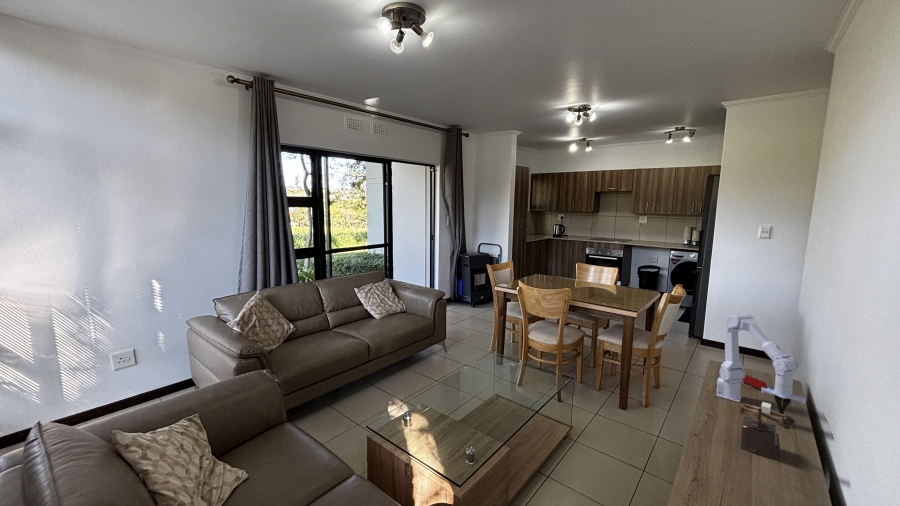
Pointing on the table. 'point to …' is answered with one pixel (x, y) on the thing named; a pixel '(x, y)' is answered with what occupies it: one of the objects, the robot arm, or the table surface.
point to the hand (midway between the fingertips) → (781, 413)
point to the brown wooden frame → (752, 412)
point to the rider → (766, 408)
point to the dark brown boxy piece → (761, 434)
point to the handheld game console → (755, 383)
